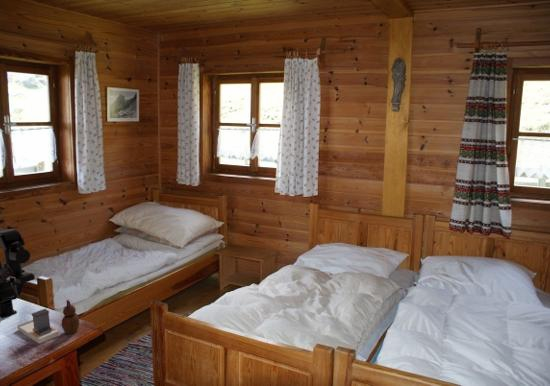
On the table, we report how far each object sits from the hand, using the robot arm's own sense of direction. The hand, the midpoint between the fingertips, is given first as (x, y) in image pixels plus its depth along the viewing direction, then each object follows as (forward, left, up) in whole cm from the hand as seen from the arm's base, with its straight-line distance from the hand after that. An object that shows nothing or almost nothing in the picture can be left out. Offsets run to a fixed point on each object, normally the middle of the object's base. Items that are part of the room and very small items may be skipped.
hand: (18, 294), depth 199 cm
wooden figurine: (+24, +9, -13) cm, 29 cm away
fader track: (+14, 0, -13) cm, 19 cm away
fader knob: (+18, 0, -11) cm, 21 cm away
